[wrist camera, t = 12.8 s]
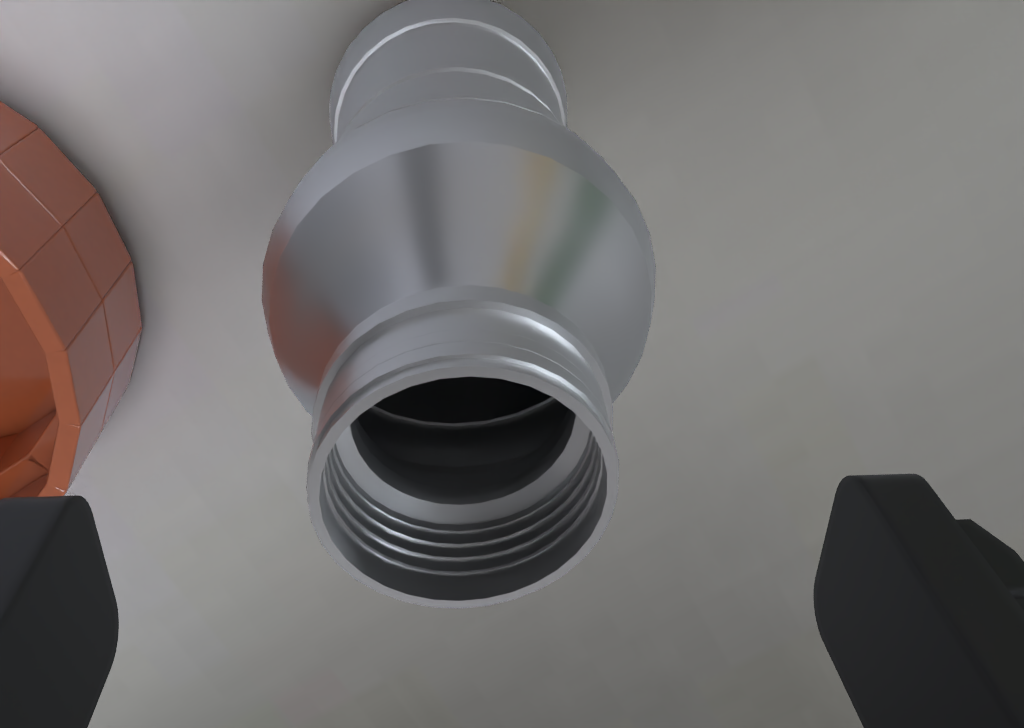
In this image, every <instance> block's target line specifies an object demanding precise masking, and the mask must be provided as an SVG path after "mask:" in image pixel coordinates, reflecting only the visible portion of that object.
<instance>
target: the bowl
mask: <svg viewBox="0 0 1024 728" xmlns="http://www.w3.org/2000/svg"><path fill="white" fill-rule="evenodd" d="M96 192H97V191H96V189H95V188H94V187H93V186H92V185H91V183H90V182H89V181H88V180H87V179H86V178H85V177H84V176H83V175H82V174H81V172H80V171H79V170H78V169H77V168H76V167H75V166H74V165H73V164H72V163H71V161H70V160H69V159H68V158H67V157H66V156H65V155H64V154H63V153H62V152H61V151H60V149H59V148H58V147H57V146H56V145H55V144H54V143H53V142H52V141H51V140H50V138H49V137H48V136H47V135H46V134H45V133H44V132H43V131H42V130H41V129H40V128H38V126H37V125H36V124H34V123H33V122H31V121H30V120H28V119H27V118H25V117H24V116H22V115H21V114H19V113H18V112H16V111H15V110H13V109H12V108H10V107H9V106H7V105H6V104H4V103H2V102H1V101H0V500H1V499H3V498H10V497H45V496H64V495H65V494H66V492H67V491H68V489H69V487H70V485H71V484H72V482H73V480H74V479H75V477H76V475H77V473H78V472H79V470H80V468H81V467H82V465H83V463H84V461H85V460H86V458H87V456H88V454H89V453H90V451H91V449H92V448H93V446H94V444H95V442H96V441H97V439H98V437H99V435H100V434H101V432H102V430H103V429H104V427H105V425H106V423H107V422H108V420H109V418H110V416H111V415H112V413H113V411H114V410H115V408H116V406H117V404H118V403H119V401H120V399H121V397H122V396H123V394H124V392H125V391H126V389H127V387H128V385H129V382H130V378H131V374H132V370H133V365H134V361H135V357H136V353H137V348H138V344H139V340H140V336H141V331H142V327H141V326H142V323H141V316H140V309H139V302H138V295H137V288H136V281H135V275H134V268H133V263H132V262H131V257H130V255H129V253H128V251H127V249H126V247H125V245H124V243H123V241H122V239H121V237H120V235H119V233H118V231H117V229H116V227H115V225H114V223H113V221H112V219H111V217H110V215H109V213H108V211H107V209H106V207H105V205H104V203H103V201H102V199H101V197H100V195H99V194H98V193H96Z"/></svg>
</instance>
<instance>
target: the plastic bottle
mask: <svg viewBox="0 0 1024 728" xmlns="http://www.w3.org/2000/svg"><path fill="white" fill-rule="evenodd" d="M329 118H330V126H331V134H332V141H333V146H332V147H331V148H330V149H328V150H327V151H326V152H325V153H324V154H323V155H322V156H321V157H320V158H319V160H318V161H317V162H316V163H315V164H314V165H313V167H312V168H311V169H310V170H309V171H308V173H307V174H306V175H305V176H304V177H303V178H302V180H301V181H300V182H299V184H298V186H297V187H296V189H295V191H294V192H293V193H292V195H291V196H290V198H289V200H288V202H287V204H286V205H285V207H284V209H283V211H282V213H281V215H280V217H279V219H278V221H277V223H276V224H275V226H274V228H273V230H272V234H271V237H270V241H269V245H268V249H267V252H266V256H265V260H264V263H263V281H262V303H263V309H264V314H265V319H266V324H267V330H268V334H269V337H270V341H271V344H272V347H273V350H274V354H275V357H276V359H277V361H278V363H279V366H280V368H281V370H282V373H283V375H284V377H285V380H286V382H287V384H288V386H289V388H290V389H291V390H292V392H293V393H294V395H295V396H296V397H297V399H298V400H299V401H300V403H301V404H302V406H303V407H304V408H305V410H306V411H307V412H308V413H309V414H310V415H311V416H312V417H313V418H312V432H311V434H312V439H313V446H312V451H311V454H310V458H309V462H308V472H307V486H306V489H307V501H308V507H309V512H310V517H311V523H312V525H313V527H314V529H315V531H316V533H317V536H318V538H319V540H320V542H321V544H322V545H323V547H324V548H325V549H326V551H327V552H328V553H329V554H330V556H331V557H332V558H333V560H334V561H335V562H336V563H337V564H338V565H339V566H340V567H341V568H342V569H344V570H345V571H346V572H347V573H348V574H350V575H351V576H352V577H353V578H354V579H356V580H357V581H359V582H361V583H362V584H364V585H366V586H368V587H369V588H371V589H373V590H375V591H377V592H378V593H381V594H384V595H386V596H389V597H392V598H395V599H398V600H400V601H403V602H407V603H412V604H418V605H423V606H428V607H438V608H470V607H480V606H489V605H493V604H497V603H501V602H506V601H510V600H514V599H517V598H519V597H522V596H524V595H527V594H529V593H532V592H534V591H537V590H539V589H541V588H543V587H545V586H547V585H548V584H550V583H552V582H553V581H555V580H557V579H558V578H560V577H562V576H564V575H565V574H566V573H567V572H568V571H570V570H571V569H572V568H573V567H574V566H576V565H577V564H578V563H579V562H580V561H582V560H583V559H584V558H585V557H586V555H587V554H588V553H589V552H590V551H591V549H592V548H593V547H594V546H595V545H596V543H597V542H598V541H599V540H600V538H601V536H602V535H603V533H604V531H605V529H606V527H607V525H608V523H609V522H610V520H611V518H612V514H613V511H614V507H615V503H616V500H617V496H618V479H619V458H618V454H617V450H616V445H615V441H614V437H613V433H612V431H613V405H612V404H613V402H614V401H615V400H616V398H617V397H618V396H619V395H620V393H621V392H622V391H623V389H624V388H625V387H626V386H627V384H628V382H629V380H630V378H631V376H632V374H633V372H634V371H635V369H636V367H637V365H638V363H639V361H640V359H641V357H642V354H643V350H644V347H645V343H646V339H647V335H648V332H649V328H650V324H651V318H652V312H653V306H654V298H655V276H656V264H655V259H654V253H653V248H652V243H651V237H650V232H649V230H648V228H647V225H646V223H645V221H644V219H643V216H642V214H641V212H640V209H639V207H638V205H637V202H636V200H635V199H634V197H633V196H632V195H631V193H630V192H629V191H628V189H627V188H626V186H625V185H624V184H623V182H622V181H621V180H620V178H619V177H618V175H617V174H616V173H615V171H614V170H613V169H612V168H611V167H610V166H609V165H608V164H607V162H606V161H605V160H604V158H603V157H602V156H601V155H599V154H598V153H597V152H596V151H595V150H594V149H593V148H592V147H590V146H589V145H588V144H587V143H586V142H585V141H584V140H582V139H581V138H580V137H579V136H578V135H577V134H576V133H574V132H572V131H571V130H569V129H568V128H567V94H566V89H565V84H564V80H563V75H562V72H561V70H560V67H559V65H558V63H557V60H556V58H555V56H554V54H553V52H552V50H551V49H550V47H549V46H548V45H547V43H546V42H545V40H544V39H543V38H542V36H541V35H540V33H539V32H538V31H537V30H535V29H534V28H533V27H532V26H531V25H530V24H529V23H528V22H527V21H526V20H525V19H523V18H522V17H521V16H520V15H518V14H516V13H515V12H513V11H511V10H509V9H508V8H506V7H504V6H503V5H501V4H499V3H496V2H493V1H490V0H408V1H405V2H403V3H401V4H399V5H397V6H395V7H393V8H391V9H389V10H387V11H385V12H383V13H382V14H381V15H379V16H378V17H377V18H376V19H374V20H373V21H372V22H371V23H369V24H368V25H367V26H366V27H365V28H363V29H362V31H361V32H360V33H359V34H358V36H357V37H356V38H355V39H354V41H353V42H352V43H351V44H350V45H349V47H348V48H347V50H346V52H345V54H344V56H343V58H342V60H341V62H340V64H339V66H338V67H337V70H336V74H335V77H334V81H333V84H332V88H331V93H330V108H329Z"/></svg>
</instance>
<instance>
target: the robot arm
mask: <svg viewBox="0 0 1024 728" xmlns="http://www.w3.org/2000/svg"><path fill="white" fill-rule="evenodd" d="M814 609H815V616H816V621H817V625H818V629H819V632H820V635H821V638H822V640H823V642H824V644H825V647H826V649H827V651H828V653H829V655H830V657H831V659H832V661H833V663H834V666H835V668H836V670H837V672H838V674H839V676H840V678H841V680H842V682H843V685H844V687H845V689H846V691H847V693H848V695H849V697H850V699H851V701H852V704H853V706H854V708H855V710H856V712H857V714H858V716H859V718H860V720H861V723H862V725H863V727H864V728H1024V562H1023V560H1022V559H1021V558H1020V557H1019V555H1018V554H1017V553H1016V552H1015V551H1014V550H1013V549H1011V548H1010V547H1009V546H1007V545H1006V544H1004V543H1003V542H1002V541H1000V540H999V539H997V538H996V537H995V536H993V535H992V534H990V533H989V532H988V531H986V530H985V529H983V528H982V527H981V526H979V525H978V524H976V523H975V522H974V521H972V520H971V519H964V520H955V518H954V517H953V516H952V514H951V513H950V512H949V510H948V509H947V508H946V506H945V505H944V504H943V502H942V501H941V500H940V498H939V497H938V496H937V494H936V493H935V492H934V490H933V489H932V488H931V486H930V485H929V484H928V483H927V481H926V480H925V479H924V478H922V477H921V476H919V475H917V474H890V475H855V476H846V477H845V478H843V479H842V480H841V482H840V483H839V485H838V488H837V491H836V494H835V498H834V502H833V506H832V511H831V515H830V519H829V523H828V527H827V532H826V536H825V540H824V544H823V548H822V552H821V557H820V561H819V565H818V569H817V573H816V577H815V583H814ZM118 629H119V620H118V608H117V603H116V599H115V595H114V591H113V588H112V584H111V580H110V576H109V573H108V569H107V565H106V562H105V558H104V554H103V551H102V547H101V543H100V540H99V536H98V532H97V528H96V525H95V521H94V517H93V514H92V511H91V508H90V506H89V504H88V502H87V501H86V499H84V498H83V497H82V496H45V497H10V498H3V499H1V500H0V728H87V727H88V725H89V722H90V720H91V717H92V715H93V712H94V709H95V707H96V704H97V702H98V699H99V697H100V694H101V692H102V689H103V687H104V684H105V682H106V679H107V677H108V674H109V672H110V669H111V666H112V664H113V661H114V657H115V653H116V647H117V641H118Z"/></svg>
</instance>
